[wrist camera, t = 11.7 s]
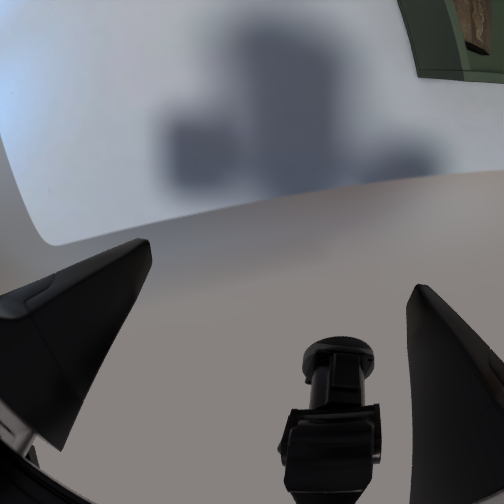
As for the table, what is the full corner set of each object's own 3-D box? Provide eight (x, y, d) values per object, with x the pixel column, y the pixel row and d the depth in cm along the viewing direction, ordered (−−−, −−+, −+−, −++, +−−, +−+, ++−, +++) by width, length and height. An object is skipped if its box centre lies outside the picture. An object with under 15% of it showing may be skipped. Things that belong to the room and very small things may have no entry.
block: (442, 40, 11) (454, 38, 10) (439, -34, 8) (449, -42, 7) (488, 59, 11) (502, 59, 9) (485, -14, 8) (497, -19, 6)
